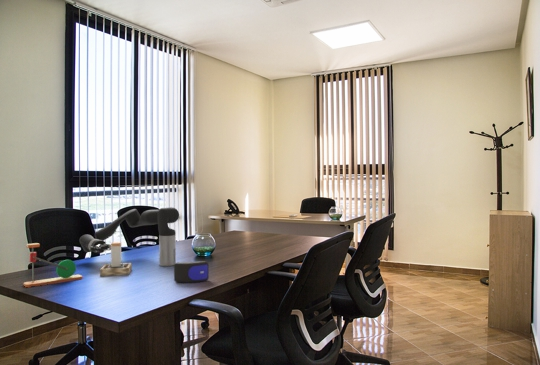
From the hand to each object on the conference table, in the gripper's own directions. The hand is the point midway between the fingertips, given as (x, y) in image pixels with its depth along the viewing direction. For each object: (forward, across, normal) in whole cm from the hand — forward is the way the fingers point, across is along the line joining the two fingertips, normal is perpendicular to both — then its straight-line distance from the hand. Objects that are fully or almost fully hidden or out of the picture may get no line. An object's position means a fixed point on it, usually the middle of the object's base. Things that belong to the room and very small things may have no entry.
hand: (108, 249), depth 223 cm
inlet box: (+11, 0, +11) cm, 16 cm away
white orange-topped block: (+11, 0, +10) cm, 15 cm away
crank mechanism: (+10, -30, +12) cm, 34 cm away
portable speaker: (+56, +18, +12) cm, 60 cm away
